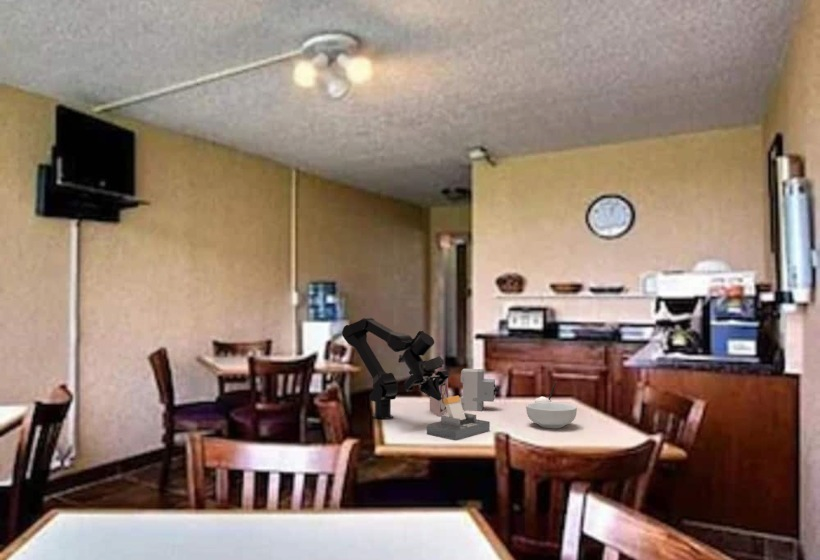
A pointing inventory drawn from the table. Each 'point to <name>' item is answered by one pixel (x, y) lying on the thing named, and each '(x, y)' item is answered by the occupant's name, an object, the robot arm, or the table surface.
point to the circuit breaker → (476, 389)
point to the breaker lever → (454, 408)
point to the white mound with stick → (544, 399)
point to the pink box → (436, 405)
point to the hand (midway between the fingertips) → (440, 400)
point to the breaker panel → (458, 427)
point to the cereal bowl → (551, 414)
